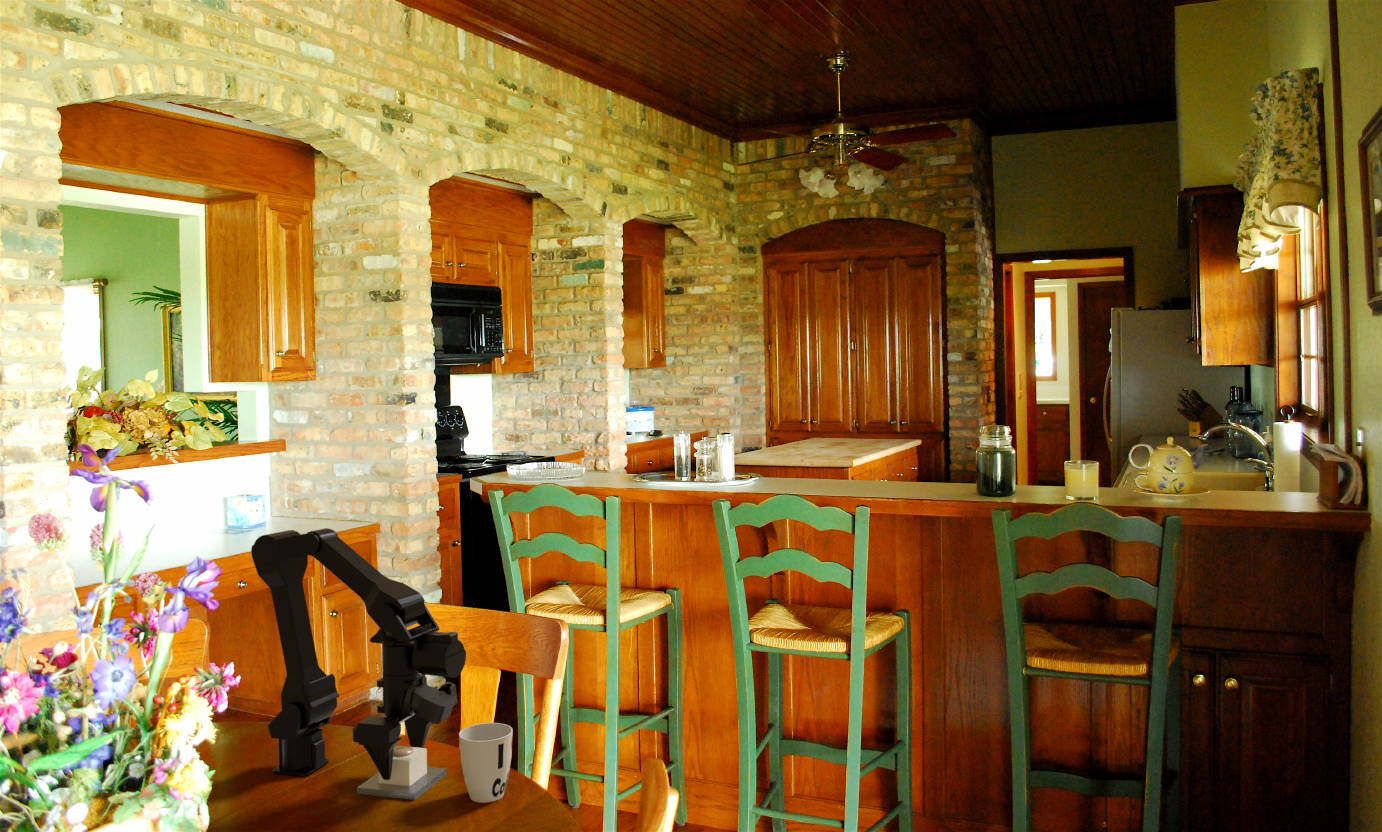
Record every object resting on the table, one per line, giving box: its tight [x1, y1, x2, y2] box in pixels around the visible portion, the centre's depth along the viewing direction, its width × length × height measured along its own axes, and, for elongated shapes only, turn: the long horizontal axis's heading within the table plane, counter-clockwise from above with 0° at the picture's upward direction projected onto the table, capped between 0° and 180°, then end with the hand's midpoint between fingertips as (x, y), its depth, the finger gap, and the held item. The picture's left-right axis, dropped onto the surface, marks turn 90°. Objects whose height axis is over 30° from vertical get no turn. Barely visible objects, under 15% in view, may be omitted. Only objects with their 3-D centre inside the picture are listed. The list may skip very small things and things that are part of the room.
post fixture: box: [356, 766, 448, 801], centre depth 156 cm, size 10×10×4 cm
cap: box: [377, 745, 428, 786], centre depth 156 cm, size 5×5×4 cm
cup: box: [458, 722, 514, 804], centre depth 151 cm, size 8×8×10 cm
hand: (402, 768), depth 156 cm, fingers open, 9 cm apart
